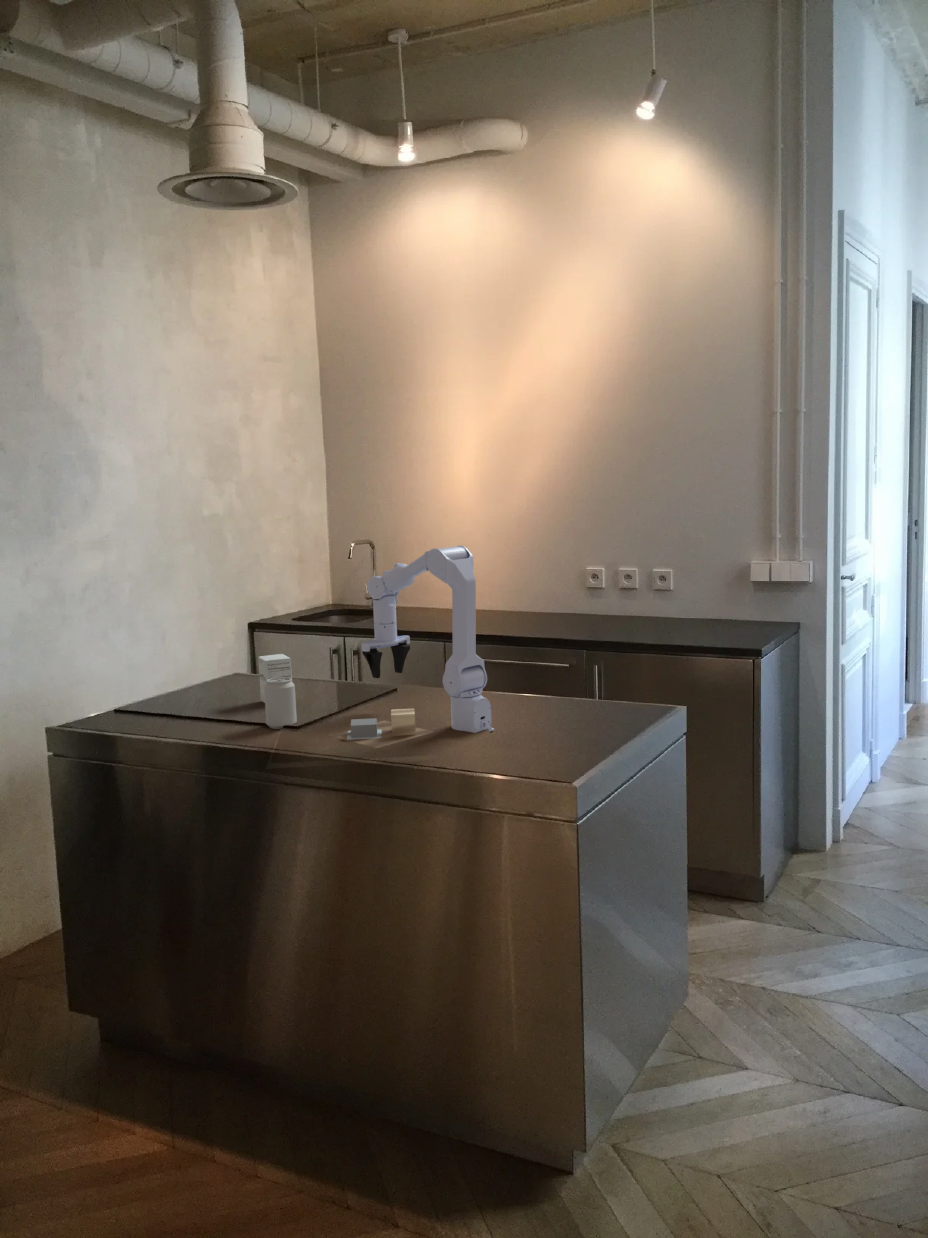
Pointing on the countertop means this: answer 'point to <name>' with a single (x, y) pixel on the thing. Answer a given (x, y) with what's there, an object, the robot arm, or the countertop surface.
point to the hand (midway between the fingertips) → (387, 675)
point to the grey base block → (363, 728)
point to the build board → (380, 735)
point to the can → (280, 702)
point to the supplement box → (273, 669)
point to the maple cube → (403, 722)
